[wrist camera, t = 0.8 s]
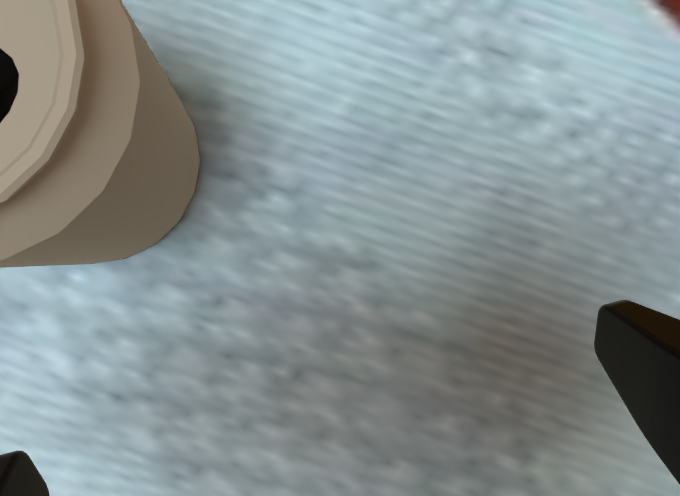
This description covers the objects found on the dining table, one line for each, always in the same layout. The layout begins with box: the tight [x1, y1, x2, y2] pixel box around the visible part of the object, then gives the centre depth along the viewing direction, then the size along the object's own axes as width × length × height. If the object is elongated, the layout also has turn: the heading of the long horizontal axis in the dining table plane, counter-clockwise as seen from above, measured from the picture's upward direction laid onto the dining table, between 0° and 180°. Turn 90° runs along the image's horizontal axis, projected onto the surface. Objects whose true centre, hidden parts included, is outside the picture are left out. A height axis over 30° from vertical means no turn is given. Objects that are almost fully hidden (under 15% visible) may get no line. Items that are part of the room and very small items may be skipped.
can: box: [0, 0, 200, 267], centre depth 15 cm, size 8×8×12 cm
